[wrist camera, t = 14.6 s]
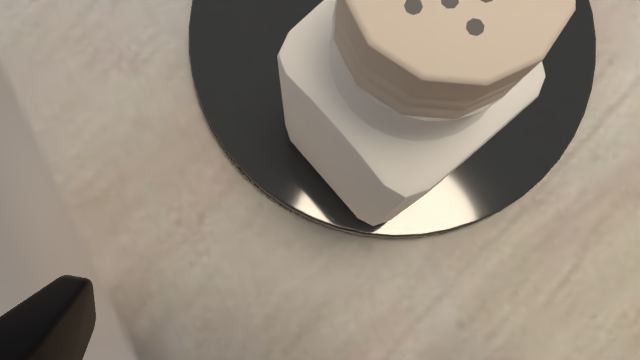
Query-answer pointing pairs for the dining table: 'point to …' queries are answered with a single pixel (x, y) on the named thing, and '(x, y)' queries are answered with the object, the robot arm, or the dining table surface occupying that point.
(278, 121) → the coaster
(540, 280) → the dining table surface
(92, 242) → the dining table surface
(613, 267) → the dining table surface
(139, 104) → the dining table surface
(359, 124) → the pepper shaker
